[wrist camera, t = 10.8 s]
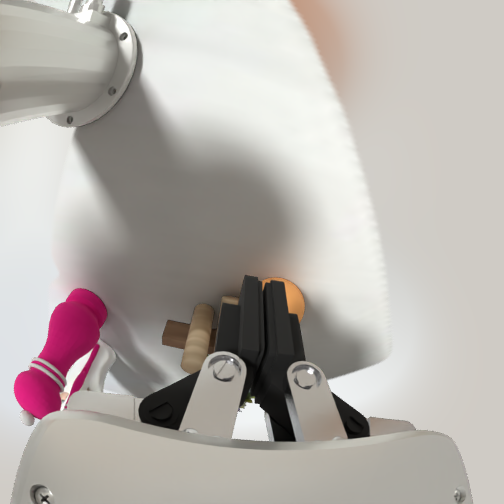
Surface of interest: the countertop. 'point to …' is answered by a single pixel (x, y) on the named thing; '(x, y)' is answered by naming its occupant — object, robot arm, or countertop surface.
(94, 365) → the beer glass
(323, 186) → the countertop surface
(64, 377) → the pepper mill
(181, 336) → the wall
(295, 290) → the ball
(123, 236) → the countertop surface
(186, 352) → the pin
